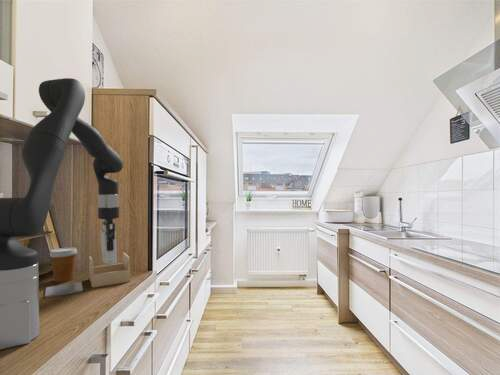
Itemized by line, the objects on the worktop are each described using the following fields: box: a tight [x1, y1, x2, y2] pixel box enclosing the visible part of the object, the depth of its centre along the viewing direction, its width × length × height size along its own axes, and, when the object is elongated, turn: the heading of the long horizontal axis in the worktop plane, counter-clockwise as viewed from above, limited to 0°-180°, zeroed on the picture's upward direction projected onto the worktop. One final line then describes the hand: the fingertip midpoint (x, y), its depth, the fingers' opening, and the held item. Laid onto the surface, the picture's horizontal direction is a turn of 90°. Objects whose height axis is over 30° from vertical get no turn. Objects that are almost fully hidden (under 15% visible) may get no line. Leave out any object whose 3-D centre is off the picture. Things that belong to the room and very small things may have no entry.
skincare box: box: [100, 231, 118, 265], centre depth 117 cm, size 6×4×12 cm
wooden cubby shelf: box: [88, 252, 131, 289], centre depth 117 cm, size 13×13×9 cm
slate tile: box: [44, 281, 84, 299], centre depth 106 cm, size 11×11×1 cm
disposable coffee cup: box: [49, 247, 78, 283], centre depth 119 cm, size 10×10×12 cm
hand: (109, 249), depth 117 cm, fingers closed on skincare box, 6 cm apart
